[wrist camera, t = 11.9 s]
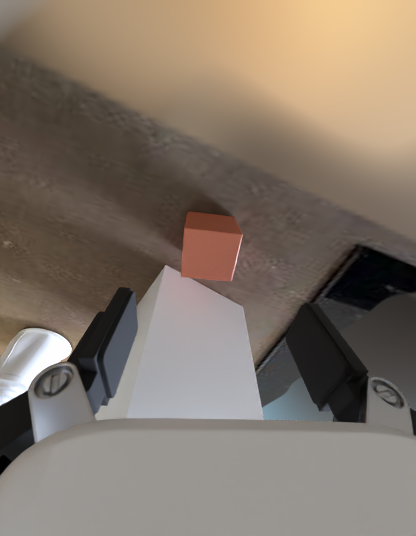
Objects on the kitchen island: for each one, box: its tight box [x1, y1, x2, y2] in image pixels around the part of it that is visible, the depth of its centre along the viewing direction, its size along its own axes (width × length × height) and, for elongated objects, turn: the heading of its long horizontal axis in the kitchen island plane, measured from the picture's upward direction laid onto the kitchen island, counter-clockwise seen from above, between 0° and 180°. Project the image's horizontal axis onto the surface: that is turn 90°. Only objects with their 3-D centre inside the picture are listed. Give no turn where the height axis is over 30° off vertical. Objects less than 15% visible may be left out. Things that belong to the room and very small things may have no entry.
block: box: [181, 211, 243, 281], centre depth 18 cm, size 5×5×5 cm
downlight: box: [0, 328, 71, 405], centre depth 24 cm, size 8×7×10 cm
